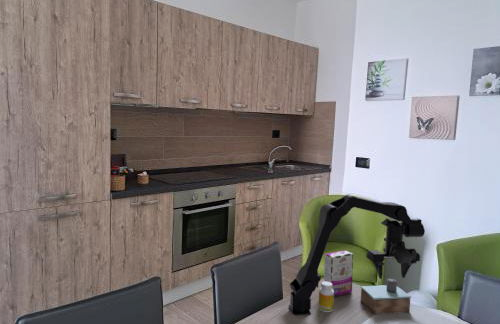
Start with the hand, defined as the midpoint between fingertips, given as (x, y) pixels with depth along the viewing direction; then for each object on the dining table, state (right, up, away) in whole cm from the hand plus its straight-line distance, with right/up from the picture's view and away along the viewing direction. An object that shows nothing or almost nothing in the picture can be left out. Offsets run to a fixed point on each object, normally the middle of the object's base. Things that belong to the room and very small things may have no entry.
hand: (391, 278), depth 131 cm
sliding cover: (-2, -6, 0) cm, 6 cm away
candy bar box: (-18, -10, +11) cm, 23 cm away
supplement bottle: (-25, -11, -3) cm, 28 cm away
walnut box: (-3, -11, 0) cm, 11 cm away
